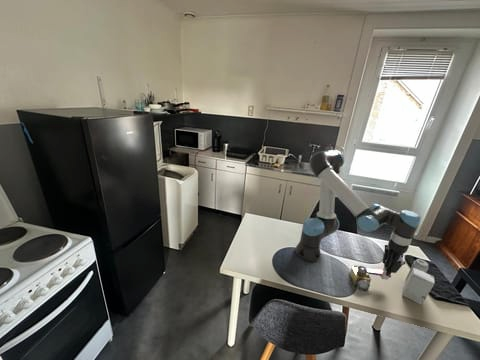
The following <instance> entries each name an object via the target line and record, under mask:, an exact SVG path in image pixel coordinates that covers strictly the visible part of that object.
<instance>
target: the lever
mask: <svg viewBox="0 0 480 360" xmlns="http://www.w3.org/2000/svg"><path fill="white" fill-rule="evenodd" d="M358 266H359V267H358V269H357V271H358V272H359V273H360V274H362V275H366V274H369V275H372V276H373V275H375V276H379V277H381V275H382V273H383V269H374V268H368V267H365V266H363V265H358ZM391 277H392V274H391V275H390V276H389V278H388V279H390V278H391Z"/></svg>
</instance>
